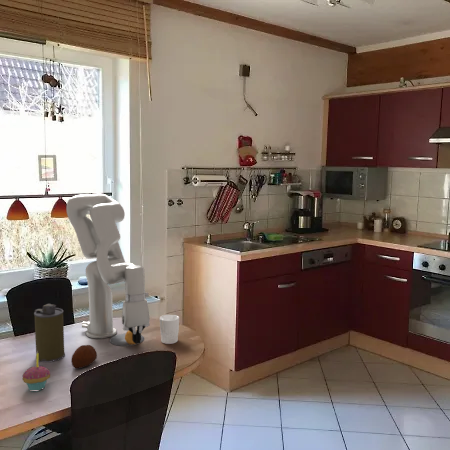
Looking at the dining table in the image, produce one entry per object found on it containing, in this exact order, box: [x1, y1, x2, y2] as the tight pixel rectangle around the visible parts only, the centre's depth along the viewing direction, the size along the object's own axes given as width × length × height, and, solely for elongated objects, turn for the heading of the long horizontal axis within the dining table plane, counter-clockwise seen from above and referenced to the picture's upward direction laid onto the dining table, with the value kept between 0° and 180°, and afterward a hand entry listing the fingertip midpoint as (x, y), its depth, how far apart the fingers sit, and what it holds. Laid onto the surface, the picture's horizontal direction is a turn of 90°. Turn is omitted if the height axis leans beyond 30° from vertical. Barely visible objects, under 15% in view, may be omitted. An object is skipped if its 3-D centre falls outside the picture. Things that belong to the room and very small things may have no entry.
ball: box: [125, 329, 137, 346], centre depth 202 cm, size 6×6×6 cm
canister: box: [33, 303, 66, 362], centre depth 188 cm, size 11×10×20 cm
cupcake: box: [22, 351, 51, 391], centre depth 163 cm, size 9×8×12 cm
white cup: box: [159, 314, 180, 345], centre depth 206 cm, size 8×8×10 cm
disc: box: [109, 332, 145, 347], centre depth 207 cm, size 14×14×1 cm
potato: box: [71, 344, 98, 369], centre depth 181 cm, size 8×12×8 cm, turn 164°
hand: (136, 342), depth 199 cm, fingers closed
